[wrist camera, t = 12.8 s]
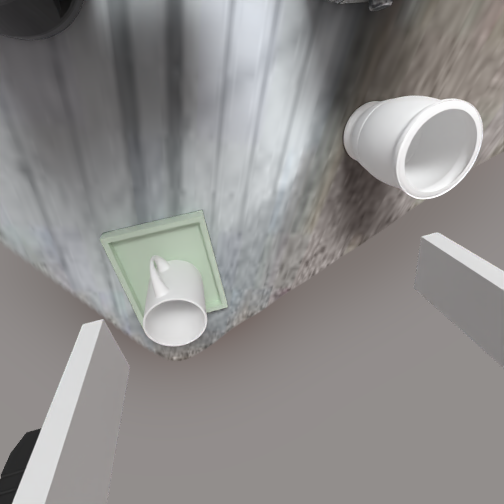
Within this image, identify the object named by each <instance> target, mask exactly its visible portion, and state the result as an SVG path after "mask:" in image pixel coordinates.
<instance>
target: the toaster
mask: <svg viewBox="0 0 504 504" xmlns="http://www.w3.org/2000/svg"><path fill="white" fill-rule="evenodd" d="M328 1H330V2H335V3H339V4H344V3H360V2H368V1H369V9H370V11H378V10H382V9H384V8H387V7H388V6H390V5H392V3H393V1H392V0H328Z"/></svg>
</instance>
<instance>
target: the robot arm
mask: <svg viewBox="0 0 504 504" xmlns="http://www.w3.org/2000/svg"><path fill="white" fill-rule="evenodd" d="M83 2H84V0H0V35H4V36H8V37H12V38H17V39H24V40H37V39H43V38H47V37H50V36H53V35H55V34H57V33H59V32H61V31H62V30H64V29H65V28H66V27H68V26H69V25H70V24H71V23H72V21H73V20H74V19H75V18H76V16H77V14H78V13H79V11H80V9H81V7H82V4H83ZM414 289H415V290H417V291H418V292H419V293H420V294H421V295H422V296H423V297H424V298H425V299H427V300H428V301H429V302H430V303H431V304H432V305H433V306H434V307H436V308H437V309H438V310H439V311H440V312H441V313H443V315H444V316H446V317H447V318H448V319H449V320H450V321H451V322H452V323H453V324H455V325H456V326H457V327H458V328H459V329H460V330H461V331H462V332H464V333H465V334H466V335H467V336H468V337H469V338H470V339H471V340H473V341H474V342H475V343H476V344H477V345H478V346H479V347H480V348H482V349H483V350H484V351H485V352H486V353H487V354H488V355H489V356H491V357H492V358H493V359H494V360H495V361H496V362H497V363H498V364H499V365H501V366H502V367H503V368H504V271H502V270H501V269H499V268H497V267H496V266H494V265H492V264H491V263H489V262H487V261H486V260H484V259H482V258H480V257H479V256H477V255H475V254H474V253H472V252H470V251H468V250H467V249H465V248H463V247H462V246H460V245H458V244H457V243H455V242H453V241H452V240H450V239H448V238H447V237H445V236H443V235H442V234H440V233H433V234H429V235H426V236H422V237H421V242H420V249H419V256H418V263H417V270H416V277H415V283H414ZM129 370H130V366H129V363H128V362H127V360H126V358H125V356H124V355H123V353H122V351H121V349H120V348H119V346H118V344H117V343H116V341H115V339H114V337H113V335H112V333H111V332H110V330H109V328H108V326H107V325H106V323H105V321H104V319H102V320H98V321H94V322H91V323H86V324H83V325H82V327H81V330H80V333H79V335H78V338H77V340H76V343H75V345H74V348H73V350H72V353H71V355H70V358H69V360H68V363H67V365H66V368H65V371H64V373H63V376H62V378H61V381H60V383H59V386H58V389H57V391H56V394H55V396H54V398H53V401H52V404H51V406H50V409H49V411H48V414H47V416H46V419H45V421H44V424H43V426H42V428H41V429H38V430H34V431H31V432H27V433H26V434H25V435H24V436H23V438H22V439H21V440H20V442H19V443H18V444H17V446H16V447H15V448H14V450H13V451H12V452H11V454H10V456H9V458H8V460H7V462H6V465H5V467H4V469H3V472H2V474H1V479H0V504H107V499H108V493H109V487H110V481H111V475H112V469H113V464H114V458H115V452H116V446H117V440H118V434H119V429H120V422H121V417H122V411H123V405H124V399H125V394H126V387H127V381H128V376H129Z"/></svg>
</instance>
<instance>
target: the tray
mask: <svg viewBox="0 0 504 504" xmlns="http://www.w3.org/2000/svg"><path fill="white" fill-rule="evenodd" d="M100 241H101V243H102V246H103V248H104V250H105V252H106V254H107V256H108V258H109V260H110V262H111V264H112V266H113V268H114V270H115V272H116V274H117V276H118V278H119V281H120V283H121V285H122V287H123V289H124V291H125V293H126V295H127V297H128V299H129V301H130V303H131V305H132V307H133V309H134V311H135V313H136V316H137V318H138V320H139V322H140V324H141V326H142V328H143V317H144V311H145V304H146V297H147V291H148V284H149V279H150V260H151V258H152V256H154V255H158V256H160V257H162V258H163V259H165V260H166V261H170V260H183V261H187V262H189V263H191V264H193V265H194V266H195V267H196V268H197V269H198V270H199V272H200V273H201V276H202V280H203V287H204V296H205V304H206V313H208V312H212V311H216V310H219V309H223V308H227V307H228V305H227V300H226V296H225V292H224V289H223V285H222V281H221V277H220V274H219V270H218V266H217V263H216V259H215V255H214V251H213V248H212V244H211V240H210V236H209V233H208V229H207V225H206V222H205V218H204V214H203V210H200V211H195V212H191V213H187V214H182V215H178V216H174V217H169V218H165V219H161V220H157V221H152V222H148V223H144V224H139V225H135V226H131V227H127V228H122V229H118V230H114V231H109V232H105V233H103V234H102V236H101V238H100ZM153 263H154V266H155V268H156V267H157V265H156V263H155V261H153ZM143 330H144V329H143Z"/></svg>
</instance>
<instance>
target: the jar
mask: <svg viewBox="0 0 504 504" xmlns="http://www.w3.org/2000/svg"><path fill="white" fill-rule="evenodd" d="M482 138H483V124H482V119H481V116H480V114H479V112H478V111H477V109H476V108H475V107H474V106H473V105H472V104H470V103H468V102H466V101H463V100H459V99H444V100H439V99H435V98H431V97H426V96H404V97H399V98H395V99H388V100H384V101H381V102H379V101H372V102H368V103H365V104H363V105H362V106H360V107H359V108H358V109H356V110H355V112H354V113H353V114H352V115H351V117H350V118H349V120H348V122H347V124H346V127H345V130H344V146H345V149H346V151H347V153H348V155H349V156H350V157H351V158H353V159H354V160H356V161H358V162H359V163H360V164H361V165H362V166H363V167H364V168H365V169H366V170H367V171H368V172H369V173H370V174H371V175H373V176H374V177H375V178H377V179H378V180H380V181H382V182H384V183H386V184H388V185H391V186H394V187H397V188H400V189H401V190H402V191H403V192H405V193H406V194H408V195H410V196H412V197H414V198H417V199H430V198H434V197H437V196H440V195H442V194H444V193H446V192H447V191H449V190H450V189H452V188H453V187H454V186H456V185H457V184H458V183H459V182H460V181H461V180H462V179H463V178H464V177H465V175H466V174H467V173H468V172H469V170H470V169H471V167H472V166H473V164H474V162H475V160H476V158H477V156H478V153H479V151H480V147H481V144H482Z"/></svg>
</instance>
